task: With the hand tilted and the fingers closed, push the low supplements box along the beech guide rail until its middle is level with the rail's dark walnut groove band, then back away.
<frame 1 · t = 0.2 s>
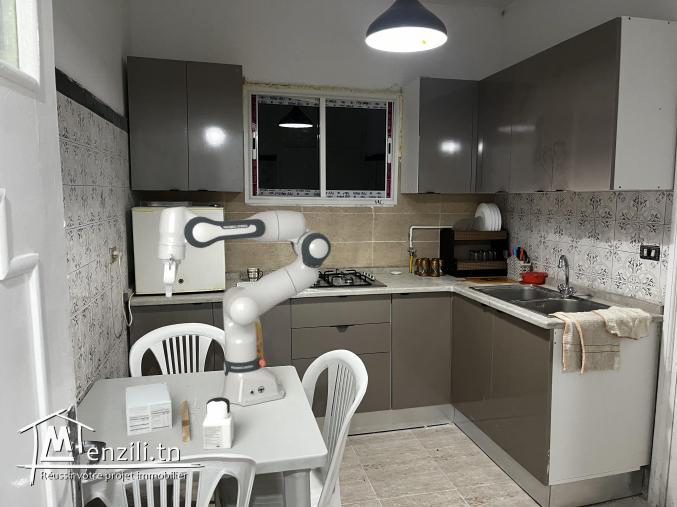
hand: (169, 294, 168), 39 cm above the table, tool pointing down, fingers open, 8 cm apart
pancake mix bag: (248, 379, 198), on the table
guide rail: (185, 422, 159), on the table
container: (219, 443, 146), on the table
supplement box: (148, 422, 160), on the table
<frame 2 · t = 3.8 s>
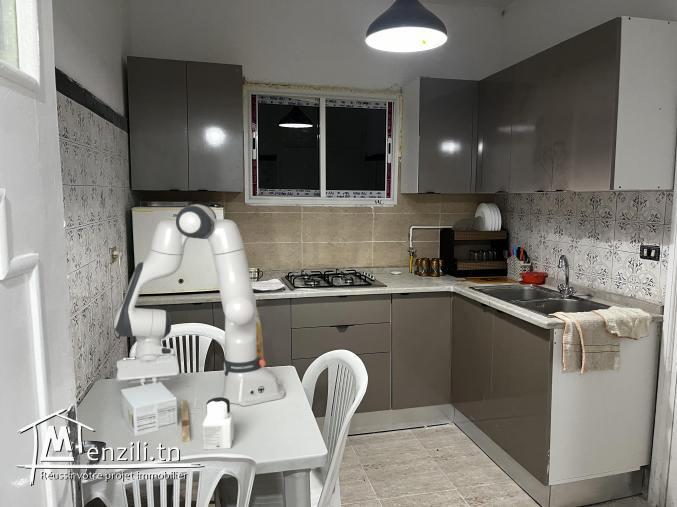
hand: (148, 392, 169), 6 cm above the table, tool tilted 45°, fingers closed
supplement box: (149, 421, 160), on the table, touching gripper
everything else where it was.
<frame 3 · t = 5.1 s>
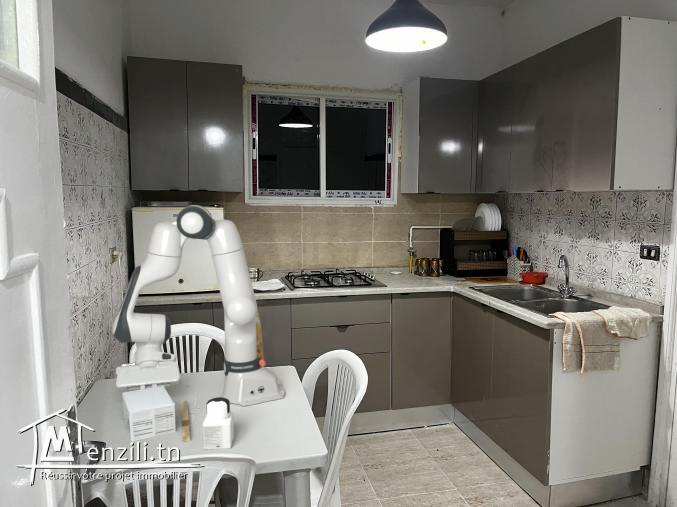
hand: (148, 399, 165), 5 cm above the table, tool tilted 45°, fingers closed
supplement box: (148, 426, 157), on the table
everything else where it was.
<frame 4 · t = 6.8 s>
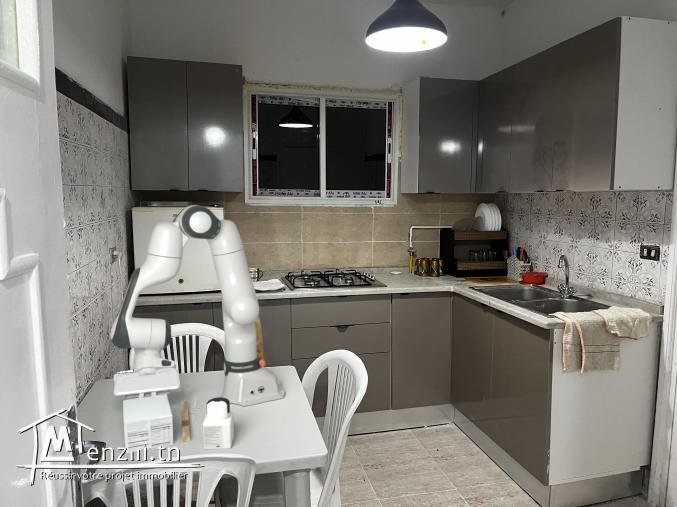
hand: (147, 408, 158), 5 cm above the table, tool tilted 45°, fingers closed
supplement box: (148, 437, 150), on the table
everything else where it was.
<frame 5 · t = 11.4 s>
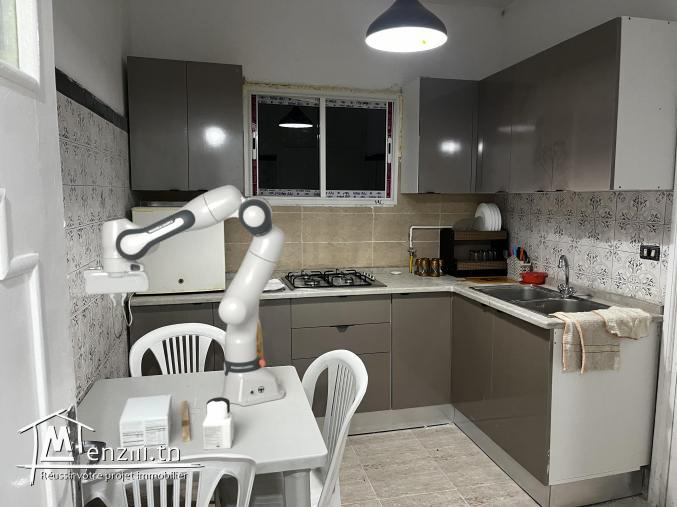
hand: (119, 305, 171), 34 cm above the table, tool pointing down, fingers closed
at the end: supplement box inside the target area (0.2 cm from its centre), on the table; supplement box tilted 0°; supplement box moved 10.9 cm from its start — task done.
